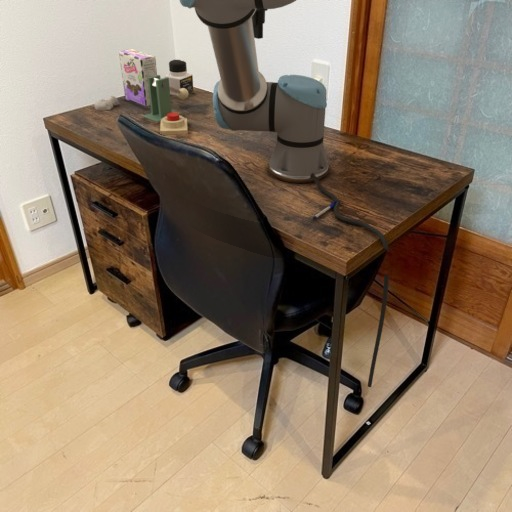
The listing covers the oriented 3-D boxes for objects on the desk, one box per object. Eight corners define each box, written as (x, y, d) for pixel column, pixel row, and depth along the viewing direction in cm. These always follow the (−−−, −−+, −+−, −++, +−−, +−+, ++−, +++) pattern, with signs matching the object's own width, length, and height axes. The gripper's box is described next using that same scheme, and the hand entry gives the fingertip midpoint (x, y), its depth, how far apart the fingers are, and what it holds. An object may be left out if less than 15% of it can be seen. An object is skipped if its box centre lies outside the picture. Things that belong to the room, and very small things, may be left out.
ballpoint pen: (336, 201, 123) (337, 197, 122) (340, 202, 122) (340, 198, 122) (312, 219, 116) (312, 215, 115) (315, 220, 116) (315, 216, 115)
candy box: (124, 99, 185) (117, 50, 176) (139, 96, 189) (133, 48, 179) (146, 109, 177) (140, 58, 168) (160, 105, 180) (155, 55, 171)
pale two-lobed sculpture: (100, 118, 173) (92, 109, 175) (121, 112, 178) (113, 104, 180) (100, 106, 170) (91, 98, 172) (121, 100, 174) (113, 92, 176)
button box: (188, 137, 156) (187, 124, 154) (160, 138, 156) (159, 125, 153) (187, 125, 165) (186, 112, 162) (161, 126, 164) (160, 113, 162)
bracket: (166, 111, 175) (162, 72, 168) (181, 116, 171) (178, 76, 164) (142, 119, 169) (137, 78, 162) (157, 124, 165) (152, 83, 158)
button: (179, 121, 157) (179, 116, 156) (167, 122, 156) (166, 116, 155) (179, 117, 160) (179, 112, 159) (167, 118, 159) (166, 112, 158)
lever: (181, 99, 176) (184, 88, 175) (188, 101, 174) (192, 91, 173) (149, 86, 164) (153, 75, 163) (157, 89, 162) (160, 77, 161)
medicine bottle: (181, 99, 186) (178, 64, 179) (165, 96, 189) (162, 61, 182) (194, 94, 191) (191, 59, 184) (178, 91, 194) (176, 57, 187)
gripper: (269, -70, 131) (268, 32, 144) (226, -68, 125) (228, 38, 138) (289, -68, 126) (285, 36, 139) (245, -67, 120) (245, 43, 133)
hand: (257, 37), depth 139 cm, fingers closed
